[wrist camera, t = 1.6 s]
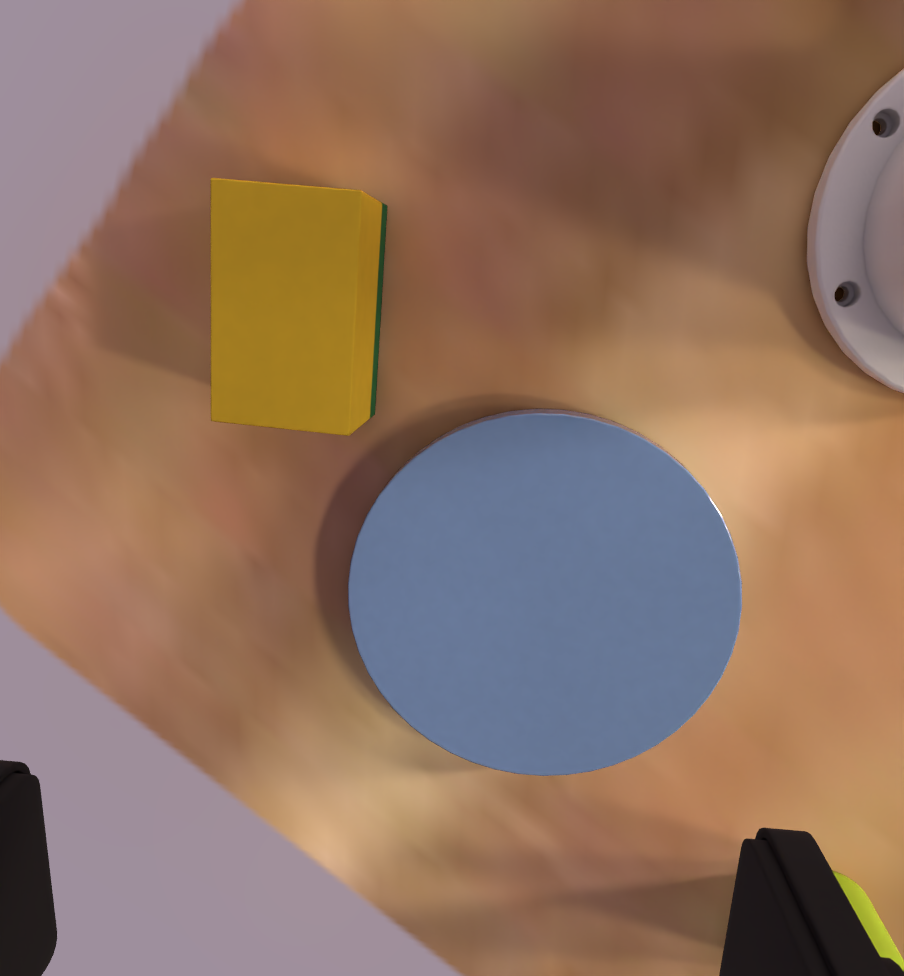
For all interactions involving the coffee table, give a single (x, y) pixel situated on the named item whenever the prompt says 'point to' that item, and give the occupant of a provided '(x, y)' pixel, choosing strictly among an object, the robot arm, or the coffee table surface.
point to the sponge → (295, 305)
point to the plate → (544, 592)
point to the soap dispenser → (870, 919)
